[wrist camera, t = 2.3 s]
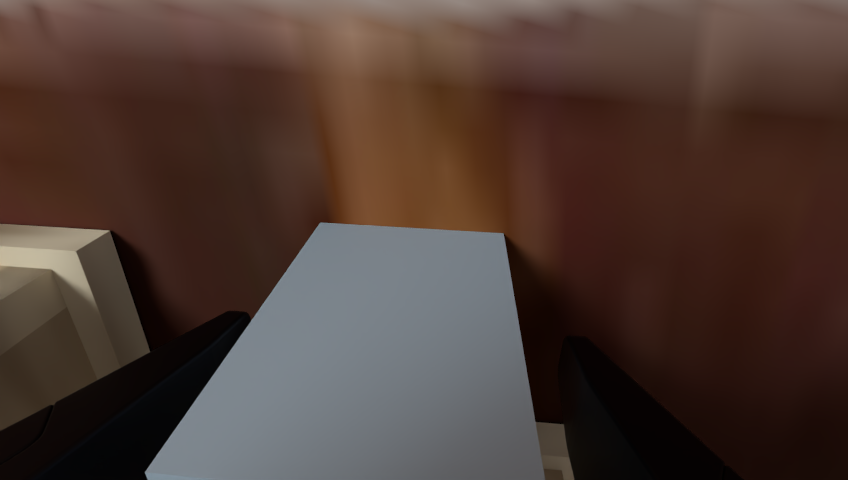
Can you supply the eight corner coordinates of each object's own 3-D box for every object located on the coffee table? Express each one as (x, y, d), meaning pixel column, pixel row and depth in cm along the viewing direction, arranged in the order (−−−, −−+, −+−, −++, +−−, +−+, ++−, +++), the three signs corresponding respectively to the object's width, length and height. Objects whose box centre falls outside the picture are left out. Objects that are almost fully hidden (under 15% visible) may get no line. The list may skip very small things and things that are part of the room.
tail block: (503, 232, 10) (550, 513, 4) (487, 373, 11) (505, 693, 6) (320, 222, 10) (145, 471, 4) (333, 361, 12) (219, 657, 6)
